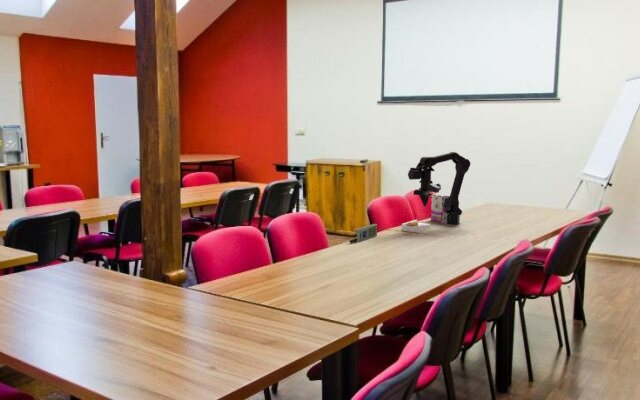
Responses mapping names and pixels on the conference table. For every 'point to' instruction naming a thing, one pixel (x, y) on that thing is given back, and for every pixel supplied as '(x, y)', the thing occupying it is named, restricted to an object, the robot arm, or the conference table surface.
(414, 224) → the orange cube
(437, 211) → the candy bar box
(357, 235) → the handheld radio
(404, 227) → the white box
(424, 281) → the conference table surface
